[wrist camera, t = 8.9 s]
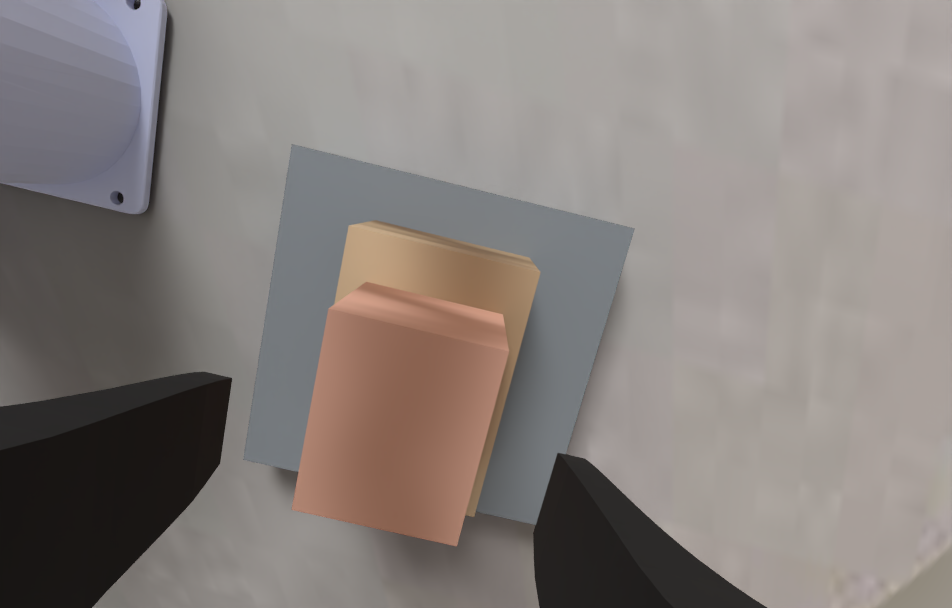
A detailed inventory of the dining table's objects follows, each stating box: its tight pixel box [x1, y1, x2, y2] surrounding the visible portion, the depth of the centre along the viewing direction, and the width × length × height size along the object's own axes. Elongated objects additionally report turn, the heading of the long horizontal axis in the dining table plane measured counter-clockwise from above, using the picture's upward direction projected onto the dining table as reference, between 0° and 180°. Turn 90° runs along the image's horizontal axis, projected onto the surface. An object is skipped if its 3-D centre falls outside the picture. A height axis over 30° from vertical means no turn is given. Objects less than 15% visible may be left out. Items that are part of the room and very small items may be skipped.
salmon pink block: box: [292, 282, 509, 546], centre depth 13 cm, size 4×5×4 cm
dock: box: [243, 144, 634, 525], centre depth 19 cm, size 12×12×2 cm
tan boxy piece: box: [334, 220, 541, 517], centre depth 16 cm, size 6×8×4 cm
